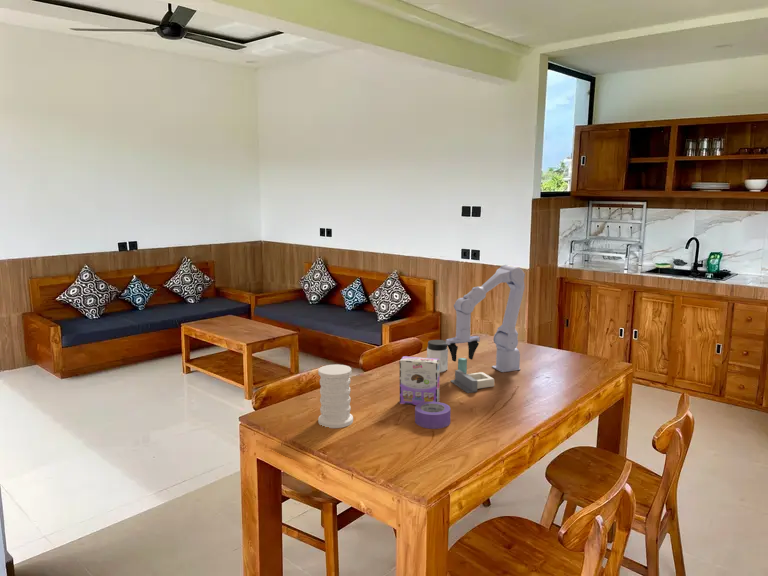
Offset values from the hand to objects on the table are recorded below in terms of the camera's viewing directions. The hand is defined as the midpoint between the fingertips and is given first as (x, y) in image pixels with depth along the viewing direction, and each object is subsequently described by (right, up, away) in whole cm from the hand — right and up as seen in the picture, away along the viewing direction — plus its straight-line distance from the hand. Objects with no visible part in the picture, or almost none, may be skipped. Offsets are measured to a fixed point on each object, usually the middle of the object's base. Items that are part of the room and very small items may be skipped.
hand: (462, 359), depth 242 cm
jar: (-9, -5, +9) cm, 14 cm away
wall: (0, -9, -12) cm, 15 cm away
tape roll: (-16, -15, -45) cm, 50 cm away
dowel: (0, -7, +1) cm, 7 cm away
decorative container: (-48, -15, -45) cm, 68 cm away
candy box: (-19, -12, -28) cm, 36 cm away
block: (+5, -9, -10) cm, 14 cm away
